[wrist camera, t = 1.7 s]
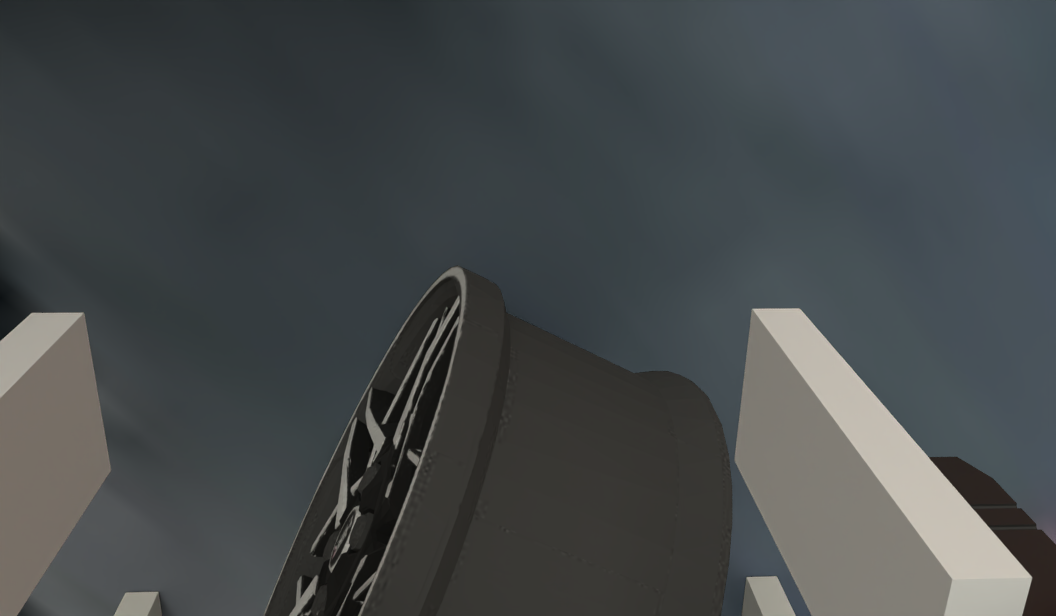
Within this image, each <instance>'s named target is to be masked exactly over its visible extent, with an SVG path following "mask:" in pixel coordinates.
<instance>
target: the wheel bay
mask: <svg viewBox="0 0 1056 616" xmlns="http://www.w3.org/2000/svg"><path fill="white" fill-rule="evenodd" d="M114 616H162V611H161V605H160V598H159V592H128V593H125V595H124V597H123V599H122V601H121V603H120V605H119V607H118V608H117V610H116V612H115V614H114ZM742 616H795V614H794V611H793V609H792V607H791V605H790V603H789V601H788V599H787V597H786V595H785V593H784V590H783V588H782V586H781V584H780V582H779V580H778V578H777V576H768V577H746V585H745V593H744V601H743V609H742Z"/></svg>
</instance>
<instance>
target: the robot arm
mask: <svg viewBox="0 0 1056 616" xmlns="http://www.w3.org/2000/svg"><path fill="white" fill-rule="evenodd" d="M735 462H736V464H737V467H738V469H739V471H740V473H741V475H742V477H743V479H744V481H745V483H746V485H747V487H748V489H749V491H750V493H751V495H752V497H753V499H754V501H755V503H756V505H757V507H758V509H759V511H760V513H761V515H762V517H763V519H764V521H765V523H766V525H767V527H768V529H769V531H770V533H771V535H772V537H773V539H774V541H775V543H776V545H777V547H778V549H779V551H780V553H781V555H782V557H783V559H784V561H785V563H786V565H787V567H788V569H789V571H790V573H791V575H792V577H793V579H794V581H795V583H796V585H797V587H798V589H799V591H800V593H801V595H802V597H803V599H804V601H805V603H806V605H807V607H808V609H809V611H810V613H811V615H812V616H1056V545H1055V543H1054V542H1053V541H1052V540H1051V539H1050V538H1049V537H1048V536H1047V535H1046V534H1045V533H1044V532H1043V531H1042V530H1037V528H1036V523H1035V522H1034V521H1033V520H1032V519H1031V518H1030V517H1029V516H1028V515H1027V514H1026V513H1025V512H1024V511H1023V510H1022V509H1021V508H1018V509H1017V506H1016V505H1017V503H1016V502H1015V501H1014V500H1013V499H1012V498H1011V497H1010V496H1009V495H1008V494H1007V493H1006V492H1005V491H1004V490H1003V489H1002V488H1001V486H1000V485H999V484H998V483H997V482H996V481H995V480H994V479H993V478H991V477H990V476H988V475H986V474H985V473H983V472H981V471H980V470H978V469H976V468H975V467H973V466H971V465H970V464H968V463H966V462H965V461H963V460H961V459H959V458H958V457H928V456H927V455H926V454H925V453H924V452H923V451H922V449H921V448H920V447H919V446H918V445H917V444H916V442H915V441H914V440H913V439H912V438H911V437H910V436H909V434H908V433H907V432H906V431H905V430H904V429H903V427H902V426H901V425H900V424H899V423H898V422H897V420H896V419H895V418H894V417H893V416H892V415H891V414H890V412H889V411H888V410H887V409H886V408H885V407H884V405H883V404H882V403H881V402H880V401H879V400H878V398H877V397H876V396H875V395H874V394H873V393H872V392H871V390H870V389H869V388H868V387H867V386H866V385H865V383H864V382H863V381H862V380H861V379H860V378H859V377H858V375H857V374H856V373H855V372H854V371H853V370H852V368H851V367H850V366H849V365H848V364H847V363H846V361H845V360H844V359H843V358H842V357H841V356H840V355H839V353H838V352H837V351H836V350H835V349H834V348H833V346H832V345H831V344H830V343H829V342H828V341H827V339H826V338H825V337H824V336H823V335H822V334H821V333H820V331H819V330H818V329H817V328H816V327H815V326H814V324H813V323H812V322H811V321H810V320H809V319H808V318H807V316H806V315H805V314H804V313H803V312H802V311H801V309H752V314H751V322H750V331H749V340H748V348H747V357H746V365H745V374H744V383H743V391H742V400H741V408H740V417H739V426H738V434H737V443H736V451H735ZM110 471H111V467H110V461H109V455H108V449H107V443H106V437H105V432H104V426H103V420H102V414H101V408H100V402H99V397H98V391H97V385H96V379H95V373H94V367H93V361H92V356H91V350H90V344H89V338H88V332H87V326H86V321H85V315H84V313H31V314H30V315H29V316H28V317H27V318H26V319H24V320H23V321H22V322H21V323H20V324H19V325H18V326H17V327H16V328H14V329H13V330H12V331H11V332H10V333H9V334H8V335H7V336H5V337H4V338H3V339H2V340H1V341H0V616H17V615H18V613H19V612H20V610H21V608H22V607H23V605H24V604H25V602H26V601H27V599H28V598H29V596H30V595H31V593H32V592H33V590H34V588H35V587H36V585H37V584H38V582H39V581H40V579H41V578H42V576H43V575H44V573H45V571H46V570H47V568H48V567H49V565H50V564H51V562H52V561H53V559H54V558H55V556H56V555H57V553H58V551H59V550H60V548H61V547H62V545H63V544H64V542H65V541H66V539H67V538H68V536H69V535H70V533H71V531H72V530H73V528H74V527H75V525H76V524H77V522H78V521H79V519H80V518H81V516H82V514H83V513H84V511H85V510H86V508H87V507H88V505H89V504H90V502H91V501H92V499H93V498H94V496H95V494H96V493H97V491H98V490H99V488H100V487H101V485H102V484H103V482H104V481H105V479H106V478H107V476H108V474H109V473H110Z"/></svg>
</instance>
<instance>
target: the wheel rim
mask: <svg viewBox="0 0 1056 616" xmlns="http://www.w3.org/2000/svg"><path fill="white" fill-rule="evenodd" d="M731 531H732V482H731V472H730V462H729V454H728V449H727V445H726V441H725V437H724V433H723V428H722V424H721V422H720V420H719V418H718V416H717V414H716V412H715V410H714V408H713V406H712V404H711V402H710V400H709V398H708V396H707V395H706V394H705V393H704V392H703V391H702V390H701V389H700V388H699V387H698V386H697V385H695V384H694V383H693V382H692V381H691V380H689V379H687V378H685V377H683V376H681V375H678V374H675V373H672V372H669V371H649V372H640V373H632V372H630V371H628V370H626V369H624V368H622V367H619V366H617V365H615V364H613V363H611V362H609V361H607V360H605V359H603V358H601V357H598V356H596V355H594V354H592V353H590V352H588V351H586V350H584V349H582V348H580V347H577V346H575V345H573V344H571V343H569V342H567V341H565V340H563V339H561V338H558V337H556V336H554V335H552V334H550V333H548V332H546V331H544V330H542V329H540V328H537V327H535V326H533V325H531V324H529V323H527V322H525V321H523V320H521V319H519V318H516V317H514V316H512V315H510V314H508V313H506V309H505V304H504V300H503V297H502V294H501V290H500V289H499V288H498V286H497V285H496V284H494V283H492V282H490V281H489V280H487V279H485V278H483V277H481V276H479V275H477V274H475V273H473V272H471V271H469V270H467V269H464V268H462V267H460V266H458V265H457V266H454V267H451V268H449V269H448V270H447V271H445V272H444V273H443V274H442V275H441V276H440V277H439V278H438V279H437V280H436V281H435V282H434V283H433V284H432V285H431V287H430V288H429V289H428V290H427V292H426V293H425V294H424V295H423V297H422V298H421V299H420V301H419V302H418V304H417V305H416V306H415V308H414V309H413V311H412V312H411V313H410V315H409V316H408V318H407V320H406V321H405V323H404V324H403V326H402V328H401V329H400V331H399V332H398V334H397V336H396V337H395V339H394V341H393V342H392V344H391V346H390V347H389V349H388V351H387V352H386V354H385V356H384V358H383V359H382V361H381V363H380V365H379V366H378V368H377V370H376V372H375V374H374V375H373V377H372V379H371V381H370V383H369V385H368V387H367V388H366V390H365V392H364V394H363V396H362V398H361V400H360V402H359V403H358V405H357V407H356V409H355V411H354V413H353V415H352V417H351V419H350V421H349V423H348V425H347V427H346V429H345V431H344V433H343V435H342V437H341V439H340V441H339V443H338V445H337V447H336V449H335V451H334V454H333V456H332V458H331V460H330V462H329V464H328V466H327V468H326V470H325V472H324V475H323V477H322V479H321V481H320V483H319V485H318V487H317V490H316V492H315V494H314V496H313V499H312V501H311V503H310V505H309V507H308V510H307V512H306V514H305V516H304V519H303V521H302V523H301V525H300V528H299V530H298V532H297V535H296V537H295V539H294V542H293V544H292V546H291V549H290V551H289V553H288V556H287V558H286V561H285V563H284V565H283V568H282V570H281V573H280V575H279V577H278V580H277V582H276V585H275V587H274V590H273V592H272V595H271V597H270V600H269V602H268V605H267V607H266V610H265V612H264V615H263V616H720V615H721V610H722V604H723V598H724V591H725V585H726V579H727V572H728V566H729V557H730V544H731Z"/></svg>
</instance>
